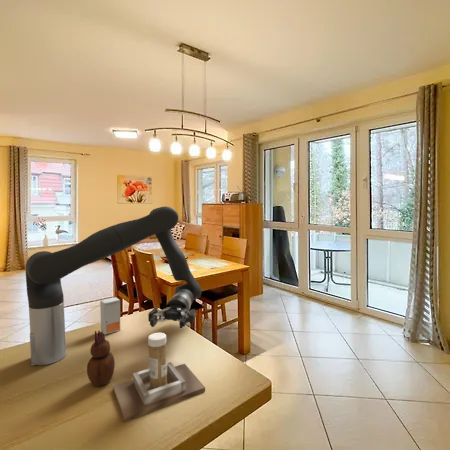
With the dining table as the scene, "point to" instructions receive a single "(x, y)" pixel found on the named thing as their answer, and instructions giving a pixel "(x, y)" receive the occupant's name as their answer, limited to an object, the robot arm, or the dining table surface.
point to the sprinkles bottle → (157, 360)
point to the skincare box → (110, 315)
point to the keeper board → (155, 391)
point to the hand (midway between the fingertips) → (166, 324)
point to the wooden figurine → (100, 361)
